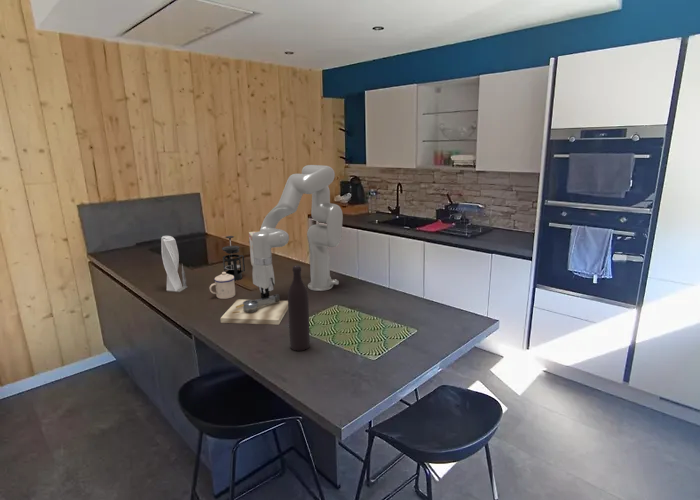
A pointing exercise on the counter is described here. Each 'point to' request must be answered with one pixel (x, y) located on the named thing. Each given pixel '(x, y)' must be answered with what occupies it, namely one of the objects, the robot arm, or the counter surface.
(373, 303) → the counter surface
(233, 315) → the wooden cutting board
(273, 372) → the counter surface
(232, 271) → the french press
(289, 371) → the counter surface
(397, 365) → the counter surface
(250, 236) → the coffeecake box
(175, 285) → the skyscraper
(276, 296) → the lever
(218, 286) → the teacup with lid
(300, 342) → the wine bottle
